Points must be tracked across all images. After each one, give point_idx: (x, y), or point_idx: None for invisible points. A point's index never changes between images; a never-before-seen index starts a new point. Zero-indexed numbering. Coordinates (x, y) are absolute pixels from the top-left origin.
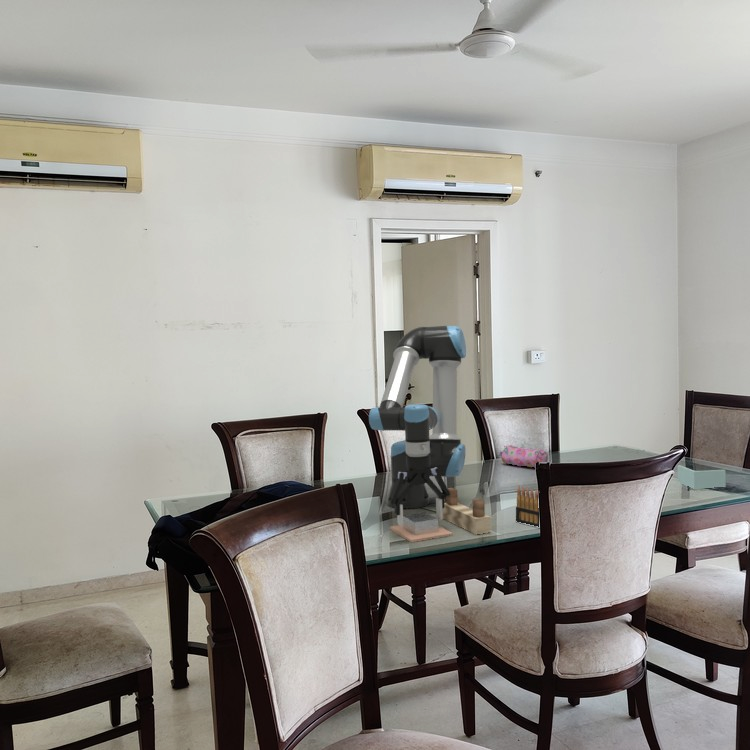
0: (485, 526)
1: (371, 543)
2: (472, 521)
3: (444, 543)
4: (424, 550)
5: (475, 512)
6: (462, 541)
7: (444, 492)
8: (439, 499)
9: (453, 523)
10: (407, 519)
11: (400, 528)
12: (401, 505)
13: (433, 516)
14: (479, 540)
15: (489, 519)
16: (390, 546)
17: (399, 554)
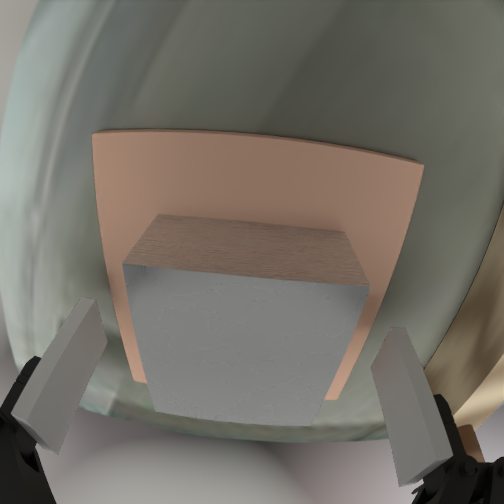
0: None
1: (3, 291)
2: None
3: (247, 423)
4: (156, 425)
5: None
6: (311, 430)
7: (472, 497)
8: (402, 484)
9: (481, 265)
10: (139, 337)
11: (140, 213)
12: (50, 449)
13: (325, 393)
14: (357, 435)
15: None
16: None
17: (81, 404)
